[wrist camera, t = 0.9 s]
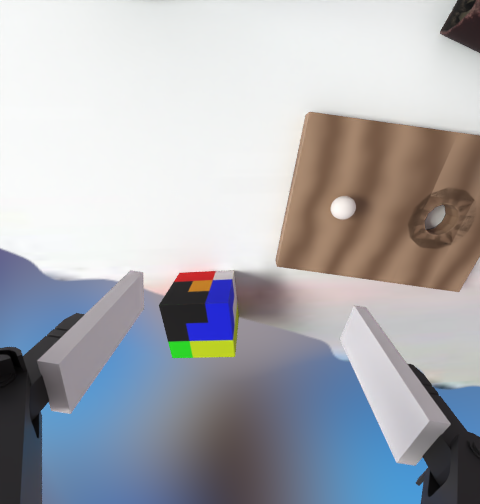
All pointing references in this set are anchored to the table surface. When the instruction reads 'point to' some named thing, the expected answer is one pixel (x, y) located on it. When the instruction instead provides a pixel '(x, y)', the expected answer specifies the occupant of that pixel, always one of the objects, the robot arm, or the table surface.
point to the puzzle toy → (201, 315)
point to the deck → (383, 202)
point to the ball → (343, 207)
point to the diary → (464, 24)
